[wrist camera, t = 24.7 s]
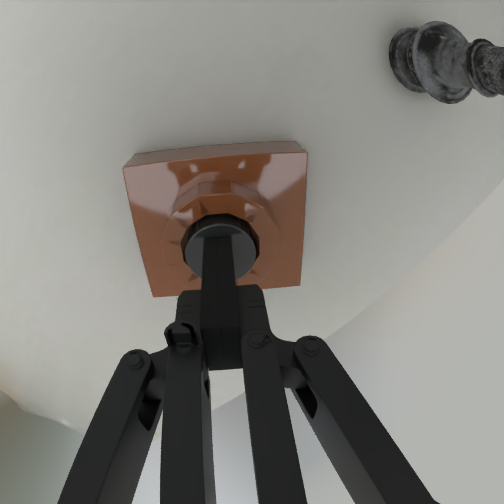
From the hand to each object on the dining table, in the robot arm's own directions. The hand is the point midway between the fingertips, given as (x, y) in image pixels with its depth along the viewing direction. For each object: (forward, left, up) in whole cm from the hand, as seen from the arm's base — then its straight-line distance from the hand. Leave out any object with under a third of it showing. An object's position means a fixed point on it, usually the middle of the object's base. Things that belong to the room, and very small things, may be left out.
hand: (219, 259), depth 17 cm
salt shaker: (-15, -12, -6) cm, 20 cm away
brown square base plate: (0, 0, -6) cm, 6 cm away
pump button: (0, 0, -2) cm, 2 cm away
